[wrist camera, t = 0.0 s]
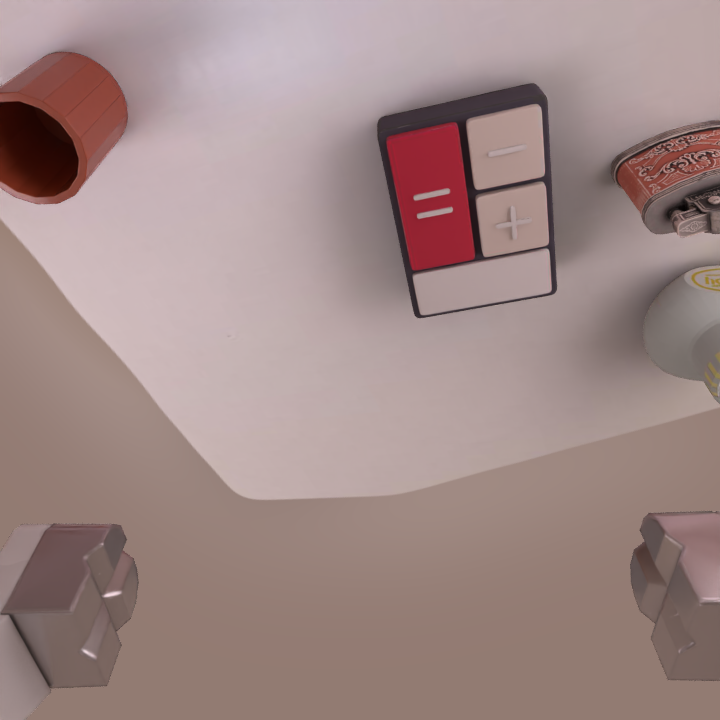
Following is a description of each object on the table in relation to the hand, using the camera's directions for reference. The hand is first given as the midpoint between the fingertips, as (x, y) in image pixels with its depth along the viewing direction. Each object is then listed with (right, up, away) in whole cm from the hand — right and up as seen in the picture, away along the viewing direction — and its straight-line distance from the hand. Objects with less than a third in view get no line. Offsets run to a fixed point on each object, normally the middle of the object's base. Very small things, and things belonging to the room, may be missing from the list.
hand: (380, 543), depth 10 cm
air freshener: (+28, +8, +44) cm, 53 cm away
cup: (-20, +20, +34) cm, 44 cm away
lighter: (+22, +18, +36) cm, 45 cm away
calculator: (+8, +15, +38) cm, 42 cm away
